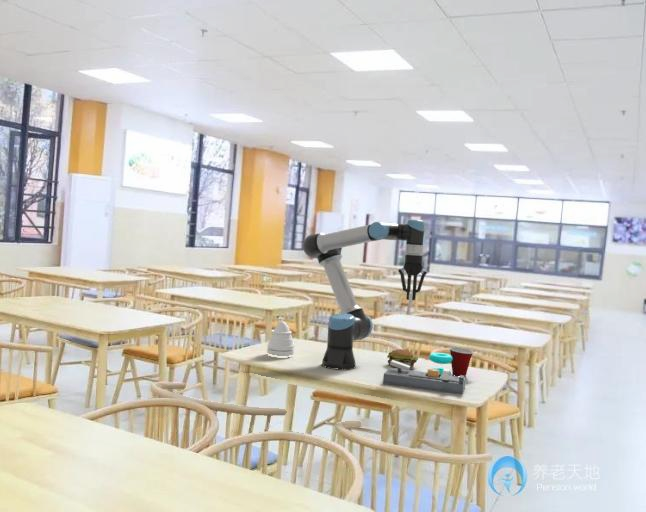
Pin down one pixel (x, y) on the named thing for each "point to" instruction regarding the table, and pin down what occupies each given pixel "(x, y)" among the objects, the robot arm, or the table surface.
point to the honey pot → (281, 340)
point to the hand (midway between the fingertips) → (410, 307)
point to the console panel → (424, 380)
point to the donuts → (441, 360)
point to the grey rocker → (400, 365)
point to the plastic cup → (460, 360)
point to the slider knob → (446, 374)
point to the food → (402, 357)
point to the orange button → (433, 372)
